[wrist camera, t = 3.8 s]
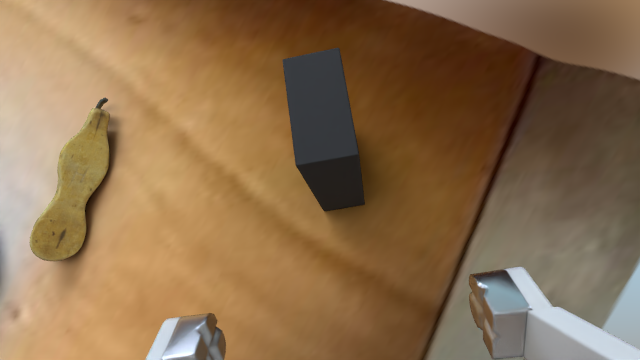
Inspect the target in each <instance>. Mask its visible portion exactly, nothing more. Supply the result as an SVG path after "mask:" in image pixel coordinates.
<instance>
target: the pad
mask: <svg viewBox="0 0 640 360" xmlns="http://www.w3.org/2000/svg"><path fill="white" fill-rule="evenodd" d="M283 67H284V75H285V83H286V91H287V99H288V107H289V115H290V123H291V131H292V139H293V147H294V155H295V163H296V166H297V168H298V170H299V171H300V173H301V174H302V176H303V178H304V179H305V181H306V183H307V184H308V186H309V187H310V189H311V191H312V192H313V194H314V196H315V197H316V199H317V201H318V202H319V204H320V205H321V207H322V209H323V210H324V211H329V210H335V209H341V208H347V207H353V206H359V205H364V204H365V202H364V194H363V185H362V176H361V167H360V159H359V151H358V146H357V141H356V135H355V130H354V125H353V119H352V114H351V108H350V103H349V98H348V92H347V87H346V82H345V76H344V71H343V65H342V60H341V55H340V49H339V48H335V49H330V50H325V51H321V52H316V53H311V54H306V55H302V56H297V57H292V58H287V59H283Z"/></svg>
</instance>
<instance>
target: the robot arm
mask: <svg viewBox="0 0 640 360" xmlns="http://www.w3.org/2000/svg"><path fill="white" fill-rule="evenodd" d="M469 285H470V287H471V289H472V292H471V294H470V295H469V301H470V308H471V312H472V315H473V318H474V321H475V323H476V325H477V327H478V328H480V329H481V330H483V340H484V342H485V344H486V346H487V349H488V351H489V353H490V355H491V357H492V359H503V358H513V357H524V359H526V360H640V349H638V348H636V347H635V346H633V345H631V344H629V343H627V342H625V341H623V340H621V339H619V338H617V337H616V336H614V335H611V334H610V333H608V332H606V331H604V330H602V329H600V328H598V327H597V326H595V325H593V324H591V323H589V322H587V321H585V320H583V319H581V318H579V317H578V316H576V315H574V314H572V313H570V312H568V311H566V310H564V309H562V308H560V307H553V306H552V305H551V303H550V302H549V301H548V299H547V298H546V296H545V295H544V294H543V292H542V291H541V290H540V288H539V287H538V286H537V284H536V283H535V282H534V280H533V279H532V278H531V276H530V275H529V274H528V272H527V271H526V270H525V268H523V267H514V268H508V269H504V270H496V271H489V272H483V273H477V274H470V276H469ZM216 324H217V319H216V317H215V315H214V314H212V313H208V314H199V315H191V316H183V317H177V318H169V319H167V320H165V321H164V322H163V324H162V326H161V328H160V330H159V333H158V335H157V337H156V339H155V341H154V343H153V345H152V347H151V349H150V351H149V353H148V356H147V358H146V360H224V357H225V352H226V342H225V337H224V334H223V332H222V330H220V329H219V328H217V327H216Z"/></svg>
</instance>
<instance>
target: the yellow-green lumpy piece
mask: <svg viewBox="0 0 640 360" xmlns="http://www.w3.org/2000/svg"><path fill="white" fill-rule="evenodd" d="M107 101H108V99H107V98H103V99H101V100H100V101H99V102H98V104H97V106H96V108H93V109H92V110H91V112H90V113H89V115H88V118H87V120H86V122H85V124H84V125H83V127H82V129H81V130H80V132H79V133H78V134H77V135H75V136H74V137H73V138H71V139H70V140H69V141H68V142H67V143H66V145H65V146H64V147H63V149H62V151H61V153H60V156H59V162H58V185H57V191H56V194H55V196H54V198H53V200H52V201H51V203H50V204H49V205H48V207H47V208H46V209H45V211H44V212H43V213H42V214H41V216H40V217H39V218H38V220H37V221H36V223H35V225H34V227H33V230H32V233H31V236H30V247H31V250H32V251H33V253H34V254H35V255H36V256H37V257H39V258H40V259H42V260H46V261H60V260H63V259H66V258H68V257H70V256H72V255H74V254H75V253H77V252H78V250H79V249H80V248H81V246H82V244H83V241H84V239H85V234H86V220H85V206H86V203H87V200H88V199H89V197H90V196H91V194H92V193H93V192H94V191H95V189H96V188H97V187H98V186H99V185H100V183H101V182H102V180H103V178H104V177H105V175H106V172H107V170H108V167H109V160H110V153H109V145H108V139H107V127H108V121H109V113H108V112H106V111H104V110H101V109H100V108H101V107H102V106H103V104H104V103H106V102H107Z"/></svg>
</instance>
